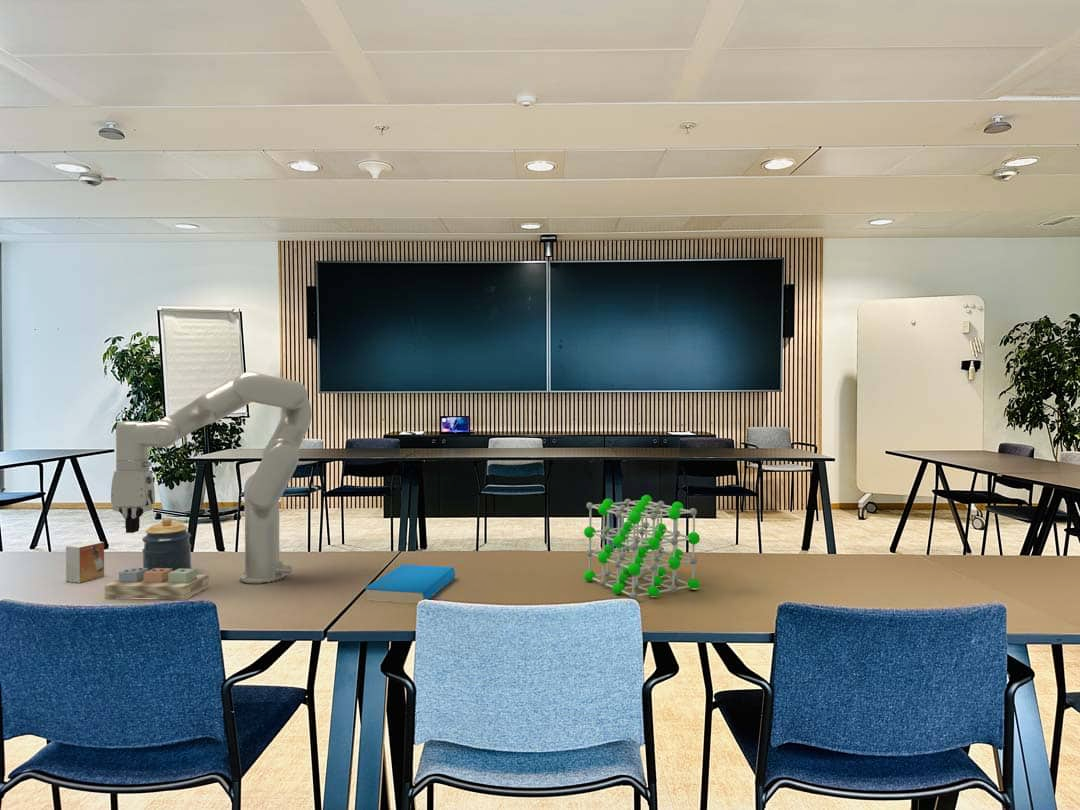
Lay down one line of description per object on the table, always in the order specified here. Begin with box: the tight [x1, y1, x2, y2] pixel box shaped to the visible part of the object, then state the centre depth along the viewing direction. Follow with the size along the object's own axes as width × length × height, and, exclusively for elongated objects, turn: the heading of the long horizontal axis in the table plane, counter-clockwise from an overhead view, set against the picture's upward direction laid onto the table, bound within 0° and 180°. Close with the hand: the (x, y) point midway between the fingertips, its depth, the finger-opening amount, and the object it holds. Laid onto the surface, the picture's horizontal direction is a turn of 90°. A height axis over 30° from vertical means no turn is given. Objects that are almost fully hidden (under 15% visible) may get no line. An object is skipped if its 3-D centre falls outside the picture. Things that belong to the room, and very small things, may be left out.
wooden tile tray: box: [104, 574, 210, 601], centre depth 188 cm, size 22×12×4 cm, turn 87°
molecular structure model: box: [583, 494, 701, 600], centre depth 195 cm, size 24×25×24 cm
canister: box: [141, 517, 192, 571], centre depth 205 cm, size 13×13×18 cm
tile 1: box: [168, 568, 197, 584], centre depth 187 cm, size 5×5×3 cm
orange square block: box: [144, 568, 172, 583], centre depth 188 cm, size 5×5×3 cm
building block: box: [118, 567, 148, 583], centre depth 188 cm, size 5×5×3 cm
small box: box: [65, 540, 105, 584], centre depth 201 cm, size 8×6×10 cm
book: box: [364, 564, 456, 603], centre depth 192 cm, size 17×4×25 cm
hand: (132, 531), depth 188 cm, fingers closed
